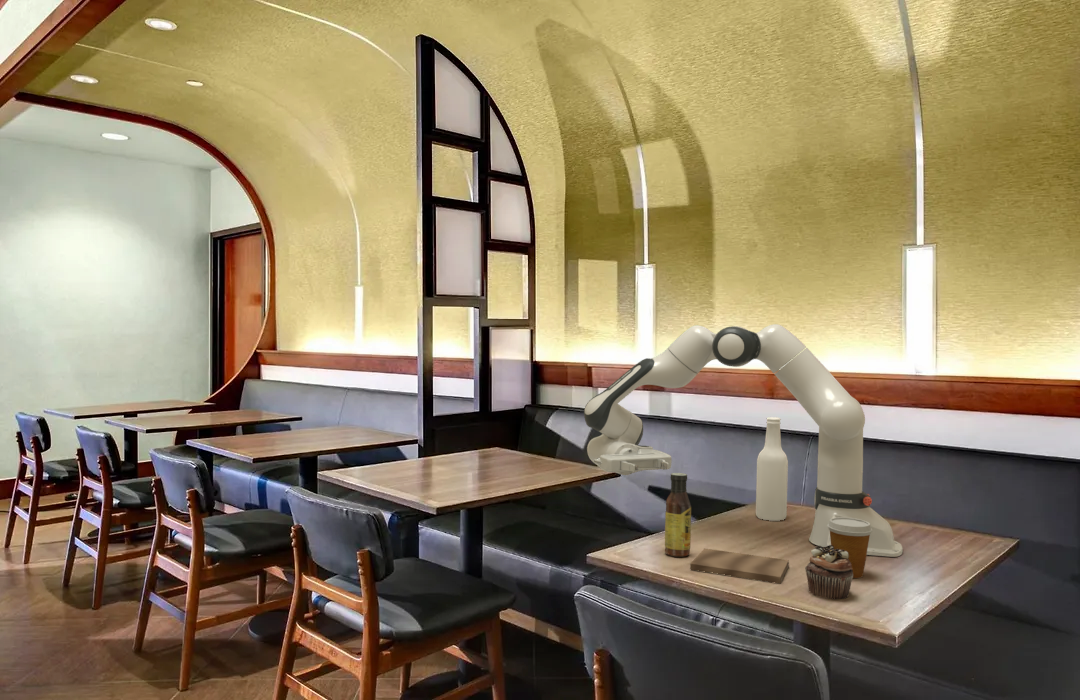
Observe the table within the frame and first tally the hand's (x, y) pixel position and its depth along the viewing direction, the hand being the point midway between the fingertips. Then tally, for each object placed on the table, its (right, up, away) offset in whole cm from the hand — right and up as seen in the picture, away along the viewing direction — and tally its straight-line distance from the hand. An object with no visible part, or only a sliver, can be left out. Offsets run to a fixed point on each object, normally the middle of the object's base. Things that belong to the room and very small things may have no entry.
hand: (651, 467), depth 199 cm
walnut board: (+18, -20, -21) cm, 34 cm away
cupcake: (+32, -21, -37) cm, 53 cm away
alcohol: (+40, -20, +28) cm, 53 cm away
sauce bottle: (+5, -20, -11) cm, 23 cm away
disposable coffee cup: (+42, -21, -24) cm, 52 cm away
